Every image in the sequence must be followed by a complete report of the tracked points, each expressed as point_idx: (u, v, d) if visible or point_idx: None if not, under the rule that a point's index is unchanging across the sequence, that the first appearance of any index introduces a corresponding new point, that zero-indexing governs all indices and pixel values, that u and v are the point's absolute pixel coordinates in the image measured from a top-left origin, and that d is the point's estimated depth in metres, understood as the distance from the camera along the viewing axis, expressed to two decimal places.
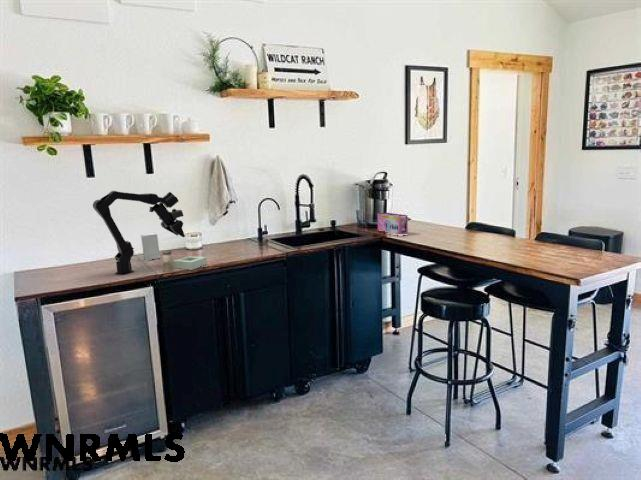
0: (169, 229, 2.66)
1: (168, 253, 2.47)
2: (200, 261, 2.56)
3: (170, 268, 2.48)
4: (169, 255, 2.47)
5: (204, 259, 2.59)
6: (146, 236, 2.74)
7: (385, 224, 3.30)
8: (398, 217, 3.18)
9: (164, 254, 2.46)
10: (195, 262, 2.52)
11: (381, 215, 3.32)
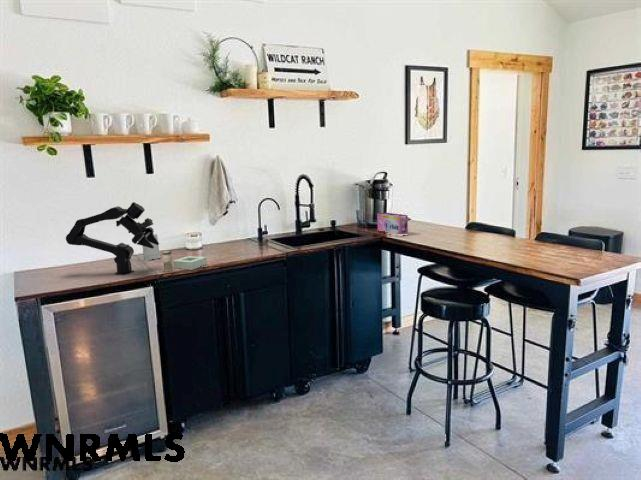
0: (148, 239, 2.52)
1: (168, 253, 2.47)
2: (200, 261, 2.56)
3: (170, 268, 2.48)
4: (169, 255, 2.47)
5: (204, 259, 2.59)
6: None
7: (385, 224, 3.30)
8: (398, 217, 3.18)
9: (164, 254, 2.46)
10: (195, 262, 2.52)
11: (381, 215, 3.32)
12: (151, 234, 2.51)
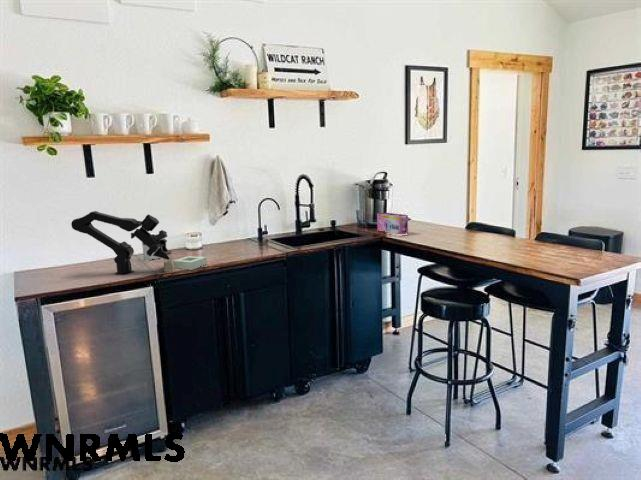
0: None
1: (168, 253, 2.47)
2: (200, 261, 2.56)
3: (170, 268, 2.48)
4: (169, 255, 2.47)
5: (204, 259, 2.59)
6: None
7: (385, 224, 3.30)
8: (399, 217, 3.19)
9: None
10: (195, 262, 2.52)
11: (381, 215, 3.32)
12: (164, 247, 2.50)
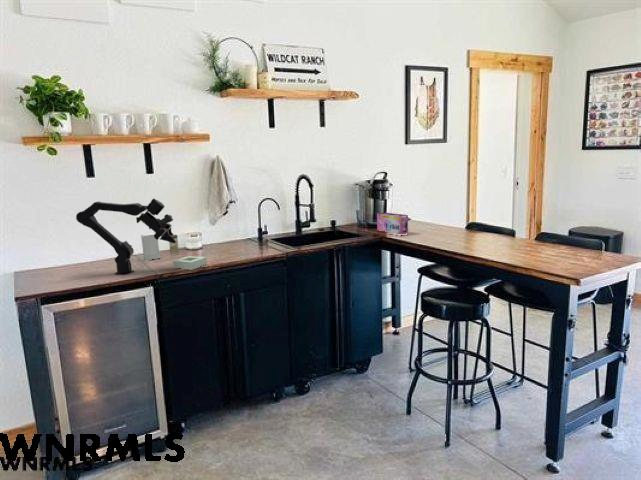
0: None
1: (174, 237, 2.47)
2: (200, 261, 2.56)
3: (176, 252, 2.49)
4: (175, 239, 2.48)
5: (204, 259, 2.59)
6: (146, 236, 2.74)
7: (385, 224, 3.30)
8: (399, 217, 3.19)
9: None
10: (195, 262, 2.52)
11: (381, 215, 3.32)
12: (169, 231, 2.51)
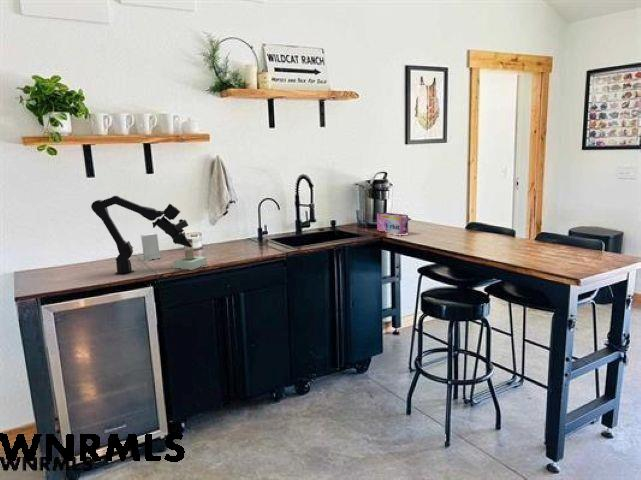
0: None
1: (190, 241, 2.54)
2: (200, 261, 2.56)
3: (192, 255, 2.56)
4: (191, 243, 2.55)
5: (204, 259, 2.59)
6: (146, 236, 2.74)
7: (385, 223, 3.30)
8: (399, 217, 3.19)
9: None
10: (195, 262, 2.52)
11: (381, 215, 3.32)
12: None
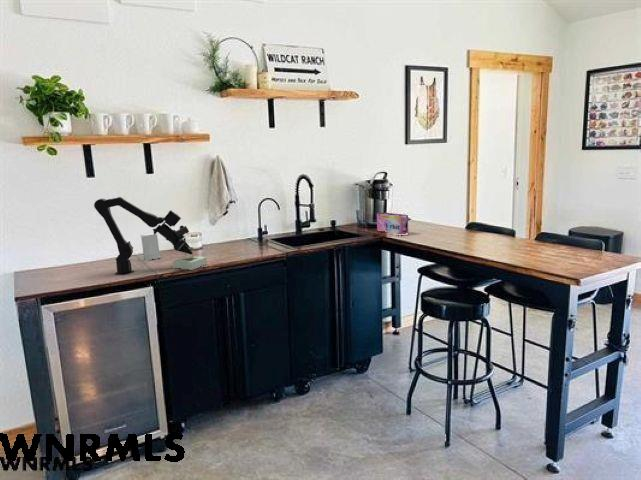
0: None
1: (191, 249, 2.55)
2: (200, 261, 2.56)
3: None
4: (192, 251, 2.55)
5: (204, 259, 2.59)
6: (146, 236, 2.74)
7: (385, 223, 3.30)
8: (399, 217, 3.19)
9: None
10: (195, 262, 2.52)
11: (381, 215, 3.32)
12: (184, 241, 2.59)
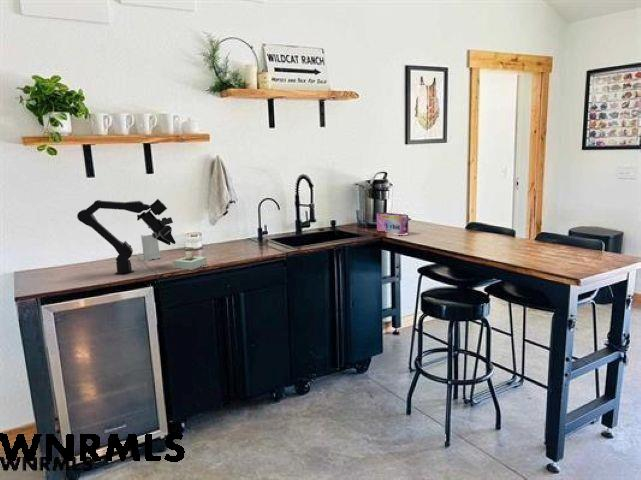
0: (160, 239, 2.56)
1: (191, 249, 2.55)
2: (200, 261, 2.56)
3: None
4: (192, 251, 2.55)
5: (204, 259, 2.59)
6: (146, 236, 2.74)
7: (385, 223, 3.30)
8: (399, 217, 3.19)
9: (187, 250, 2.54)
10: (195, 262, 2.52)
11: (381, 215, 3.32)
12: None
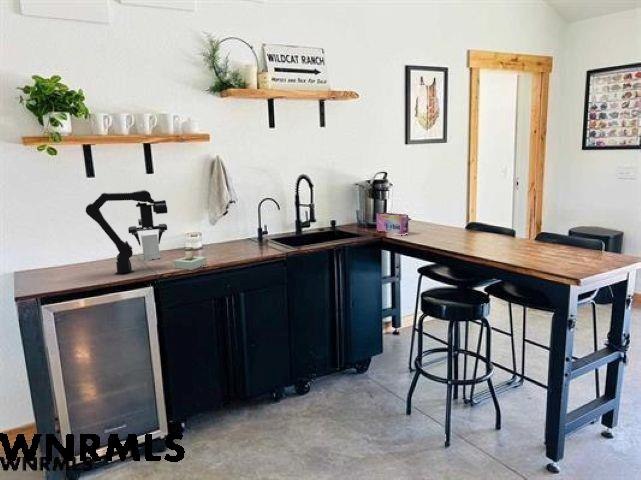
0: (138, 236, 2.48)
1: (191, 249, 2.55)
2: (200, 261, 2.56)
3: None
4: (192, 251, 2.55)
5: (204, 259, 2.59)
6: (146, 236, 2.74)
7: (385, 223, 3.30)
8: (400, 217, 3.19)
9: (187, 250, 2.54)
10: (195, 262, 2.52)
11: (381, 215, 3.32)
12: None
